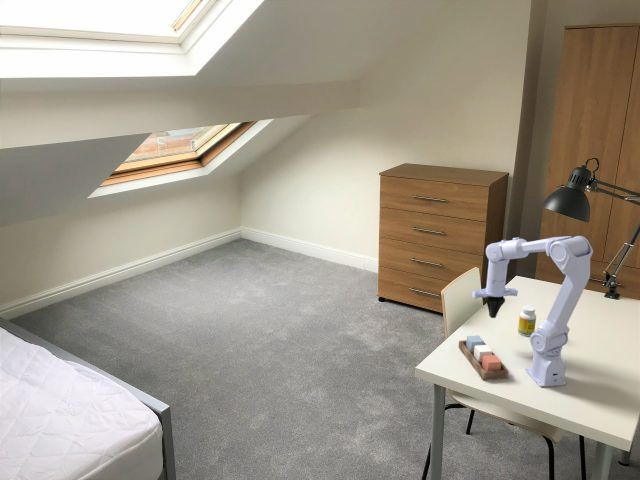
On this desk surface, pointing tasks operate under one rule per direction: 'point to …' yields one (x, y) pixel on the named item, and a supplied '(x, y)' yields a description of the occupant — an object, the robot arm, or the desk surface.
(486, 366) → the key terracotta
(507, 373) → the frame
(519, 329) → the supplement bottle
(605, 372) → the desk surface
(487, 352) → the key white
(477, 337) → the key blue
